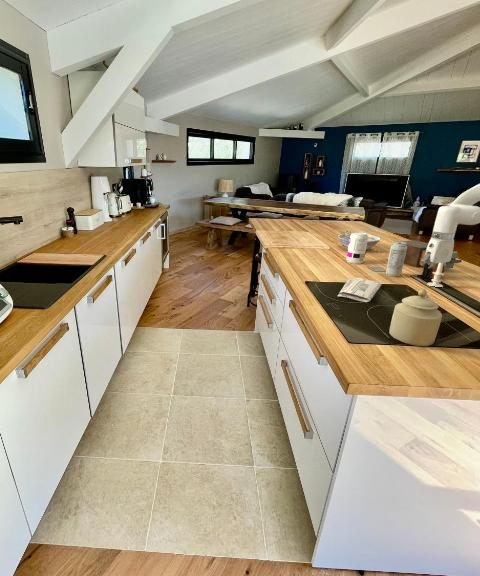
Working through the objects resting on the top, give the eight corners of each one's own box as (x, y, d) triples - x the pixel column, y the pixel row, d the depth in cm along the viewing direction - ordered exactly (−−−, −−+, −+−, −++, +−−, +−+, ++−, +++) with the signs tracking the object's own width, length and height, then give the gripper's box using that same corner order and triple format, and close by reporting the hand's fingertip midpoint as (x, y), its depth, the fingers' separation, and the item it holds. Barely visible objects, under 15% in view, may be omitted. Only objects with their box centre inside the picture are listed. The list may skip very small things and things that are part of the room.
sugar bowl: (380, 320, 101) (390, 276, 95) (420, 324, 98) (432, 279, 92) (395, 343, 87) (408, 293, 82) (441, 349, 84) (457, 297, 79)
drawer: (463, 271, 144) (468, 254, 141) (443, 273, 141) (448, 256, 138) (426, 260, 160) (430, 245, 157) (408, 262, 157) (412, 247, 155)
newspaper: (349, 280, 137) (350, 275, 136) (380, 288, 130) (382, 283, 129) (333, 295, 120) (335, 289, 119) (367, 306, 113) (369, 299, 112)
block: (430, 275, 142) (433, 265, 140) (440, 278, 138) (443, 268, 136) (422, 275, 141) (425, 266, 139) (432, 279, 137) (435, 269, 135)
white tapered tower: (434, 283, 132) (440, 259, 128) (446, 287, 127) (453, 262, 123) (424, 284, 131) (430, 260, 127) (435, 288, 126) (442, 263, 122)
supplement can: (343, 262, 163) (347, 233, 158) (349, 259, 168) (354, 231, 163) (359, 265, 158) (364, 235, 152) (365, 262, 163) (371, 233, 157)
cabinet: (436, 265, 156) (441, 246, 153) (415, 267, 153) (420, 248, 150) (410, 257, 169) (414, 240, 166) (391, 259, 166) (395, 241, 163)
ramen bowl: (377, 256, 173) (379, 241, 170) (332, 251, 184) (334, 237, 182) (379, 247, 193) (381, 233, 190) (339, 243, 204) (341, 230, 201)
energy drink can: (402, 275, 142) (409, 242, 137) (398, 278, 138) (406, 244, 133) (387, 272, 146) (394, 240, 141) (383, 275, 142) (390, 242, 137)
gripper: (435, 239, 127) (424, 280, 134) (467, 236, 131) (455, 276, 138) (418, 235, 134) (408, 275, 140) (449, 233, 138) (438, 271, 144)
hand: (431, 275), depth 139 cm, fingers open, 6 cm apart
